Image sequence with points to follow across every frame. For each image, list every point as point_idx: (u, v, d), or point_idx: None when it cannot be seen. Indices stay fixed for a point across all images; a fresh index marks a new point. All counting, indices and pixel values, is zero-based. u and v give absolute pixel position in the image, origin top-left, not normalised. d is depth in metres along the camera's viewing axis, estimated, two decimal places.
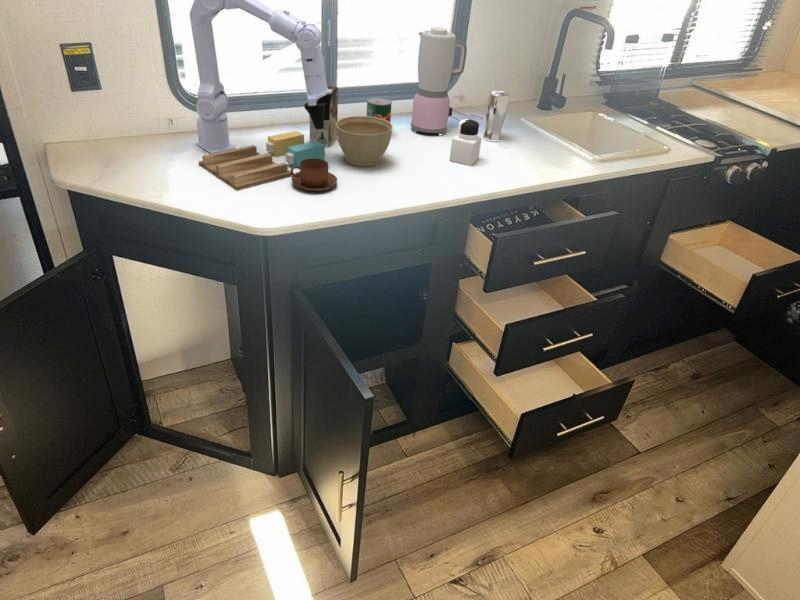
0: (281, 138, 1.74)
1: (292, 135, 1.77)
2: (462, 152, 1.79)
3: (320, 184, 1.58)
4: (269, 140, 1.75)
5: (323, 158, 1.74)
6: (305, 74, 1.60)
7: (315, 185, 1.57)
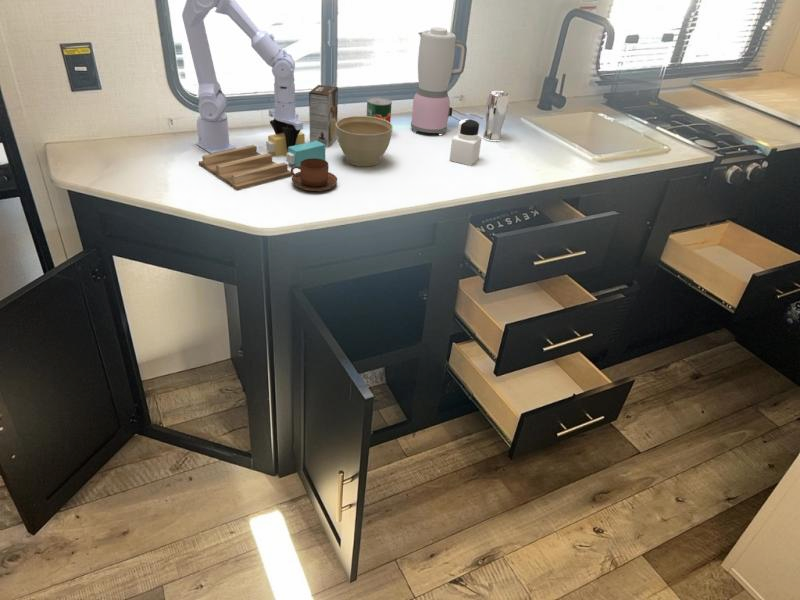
0: (281, 137, 1.74)
1: None
2: (462, 152, 1.79)
3: (320, 184, 1.58)
4: (269, 139, 1.74)
5: (324, 158, 1.75)
6: (277, 100, 1.68)
7: (315, 185, 1.58)
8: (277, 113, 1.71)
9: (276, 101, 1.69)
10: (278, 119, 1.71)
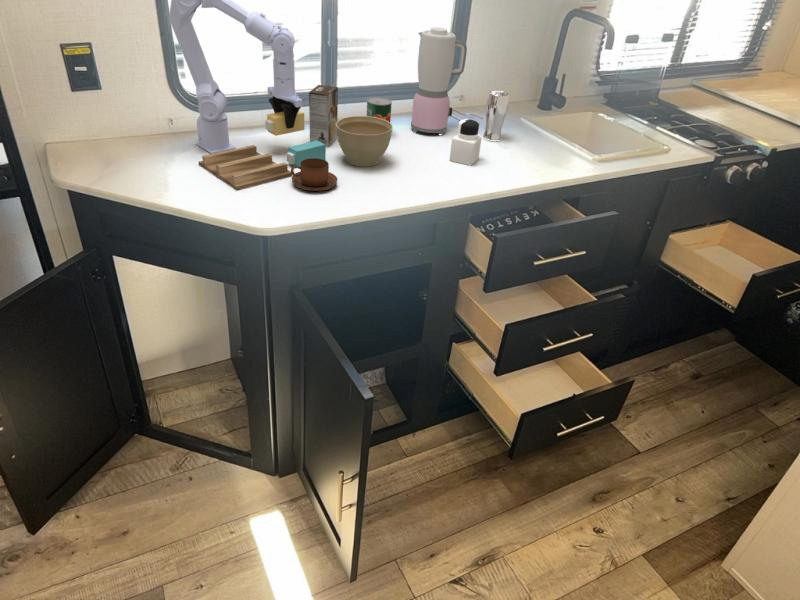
0: (281, 116, 1.71)
1: None
2: (462, 152, 1.79)
3: (320, 184, 1.58)
4: (268, 118, 1.71)
5: (324, 158, 1.75)
6: (276, 76, 1.65)
7: (315, 185, 1.58)
8: (276, 90, 1.67)
9: (275, 77, 1.65)
10: (277, 96, 1.67)
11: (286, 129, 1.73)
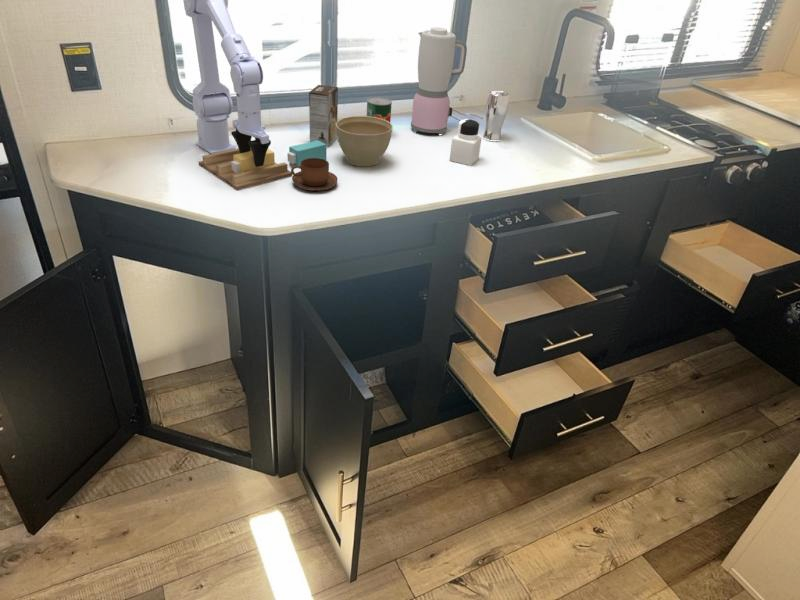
0: (248, 157, 1.58)
1: None
2: (462, 152, 1.79)
3: (321, 184, 1.58)
4: (235, 159, 1.58)
5: (325, 158, 1.75)
6: None
7: (316, 184, 1.58)
8: (240, 125, 1.53)
9: (239, 112, 1.51)
10: (242, 131, 1.53)
11: None
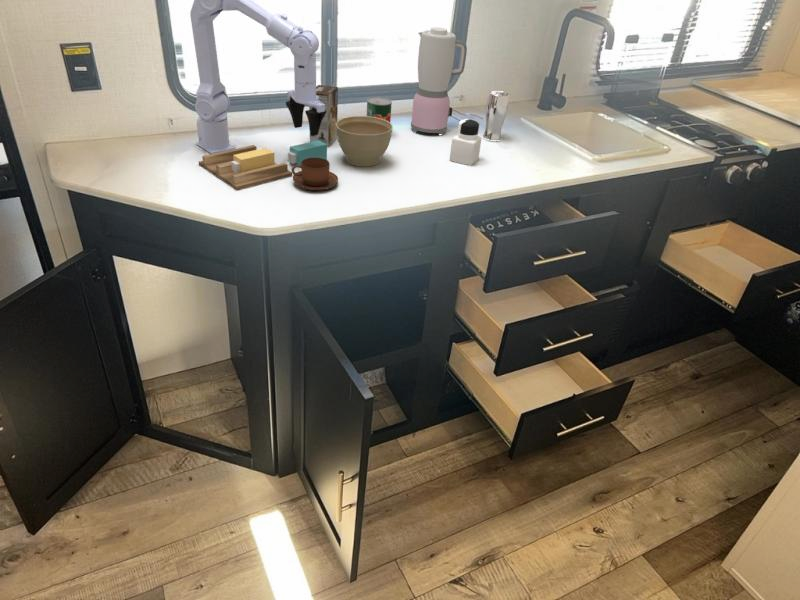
0: (248, 157, 1.58)
1: (261, 153, 1.60)
2: (462, 152, 1.79)
3: (321, 183, 1.58)
4: (235, 159, 1.58)
5: (325, 157, 1.75)
6: (295, 79, 1.59)
7: (316, 184, 1.58)
8: (297, 94, 1.60)
9: (296, 82, 1.59)
10: (298, 101, 1.61)
11: None
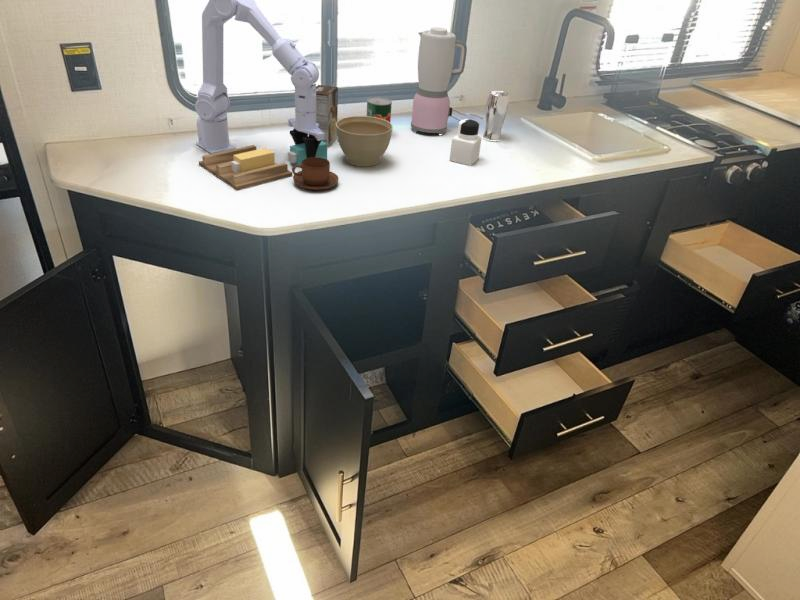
0: (248, 157, 1.58)
1: (261, 153, 1.60)
2: (462, 152, 1.79)
3: (322, 183, 1.58)
4: (235, 159, 1.58)
5: (326, 157, 1.75)
6: (296, 109, 1.63)
7: (317, 184, 1.58)
8: (298, 123, 1.65)
9: (297, 111, 1.63)
10: (299, 129, 1.65)
11: None
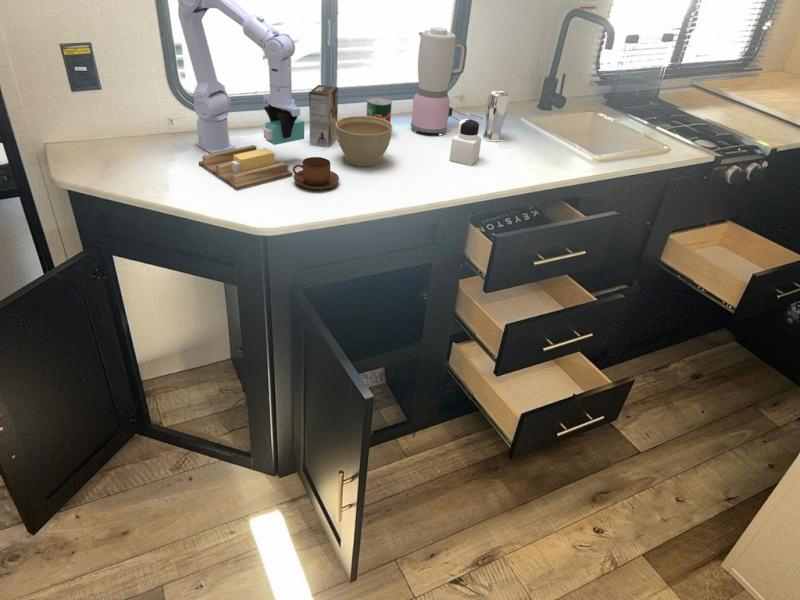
0: (248, 157, 1.58)
1: (261, 153, 1.60)
2: (462, 152, 1.79)
3: (322, 182, 1.59)
4: (235, 159, 1.58)
5: (303, 135, 1.69)
6: (270, 82, 1.58)
7: (317, 183, 1.58)
8: (272, 98, 1.59)
9: (271, 85, 1.57)
10: (273, 105, 1.59)
11: None
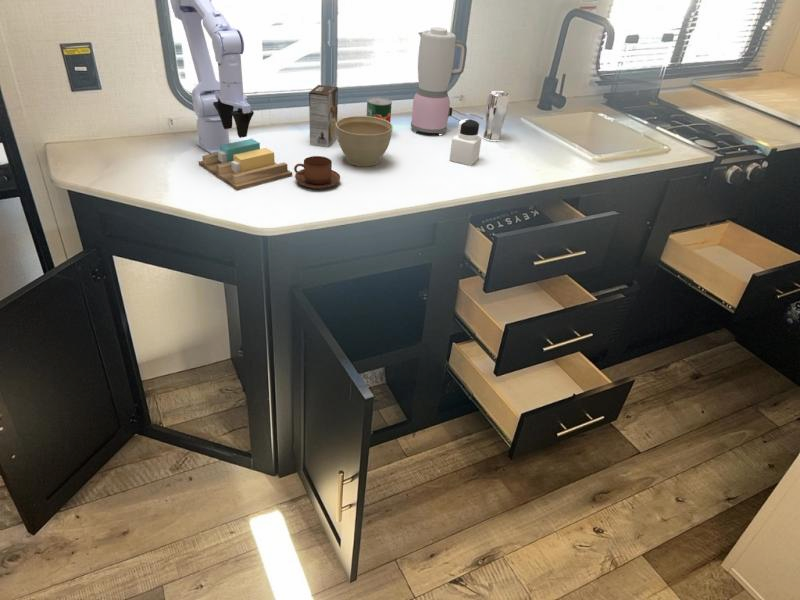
0: (248, 157, 1.58)
1: (261, 153, 1.60)
2: (462, 152, 1.79)
3: (324, 181, 1.59)
4: (235, 159, 1.58)
5: None
6: None
7: (319, 182, 1.59)
8: (222, 95, 1.54)
9: (221, 81, 1.53)
10: (224, 101, 1.55)
11: None
